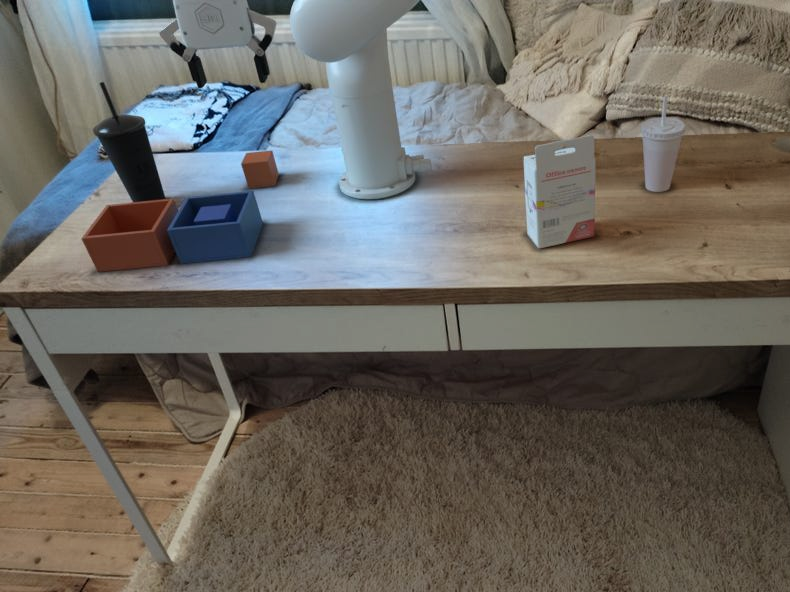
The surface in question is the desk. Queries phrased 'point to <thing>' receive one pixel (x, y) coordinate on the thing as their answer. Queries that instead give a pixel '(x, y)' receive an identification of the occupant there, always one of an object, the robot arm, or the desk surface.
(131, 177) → the drinking cup
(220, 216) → the blue block
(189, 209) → the blue bin
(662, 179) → the smoothie
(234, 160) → the desk surface
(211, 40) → the robot arm
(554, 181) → the ink cartridge box
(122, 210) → the terracotta bin
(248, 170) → the terracotta block
